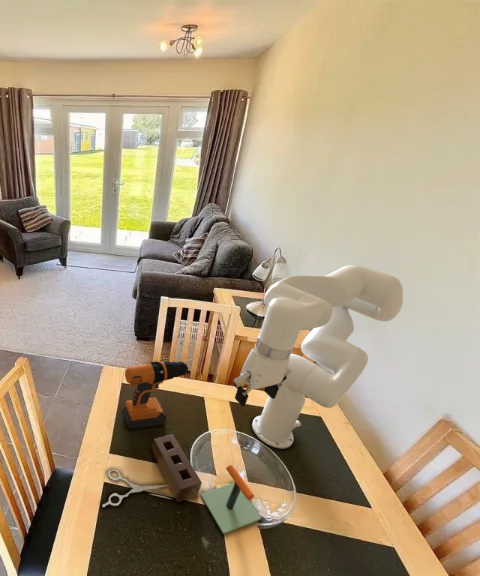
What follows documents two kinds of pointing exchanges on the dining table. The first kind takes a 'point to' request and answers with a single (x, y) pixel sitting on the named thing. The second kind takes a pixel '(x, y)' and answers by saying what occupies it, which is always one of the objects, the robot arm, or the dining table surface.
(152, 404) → the power drill
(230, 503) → the t handle
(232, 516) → the mat
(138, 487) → the scissors
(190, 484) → the rack
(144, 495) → the dining table surface
